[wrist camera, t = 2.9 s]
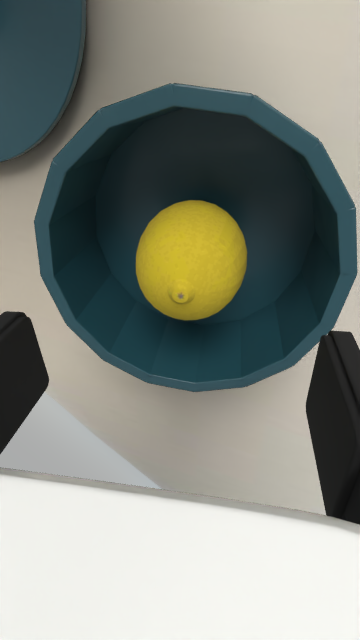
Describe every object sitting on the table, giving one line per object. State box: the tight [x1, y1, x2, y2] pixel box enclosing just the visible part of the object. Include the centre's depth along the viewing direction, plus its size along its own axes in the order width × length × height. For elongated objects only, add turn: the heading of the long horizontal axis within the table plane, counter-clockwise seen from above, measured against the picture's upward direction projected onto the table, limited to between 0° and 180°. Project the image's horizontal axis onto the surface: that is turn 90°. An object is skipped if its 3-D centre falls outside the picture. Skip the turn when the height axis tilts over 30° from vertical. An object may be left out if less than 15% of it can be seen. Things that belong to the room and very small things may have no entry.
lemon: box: [136, 200, 247, 320], centre depth 17 cm, size 6×6×8 cm
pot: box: [34, 83, 357, 392], centre depth 18 cm, size 14×14×6 cm
